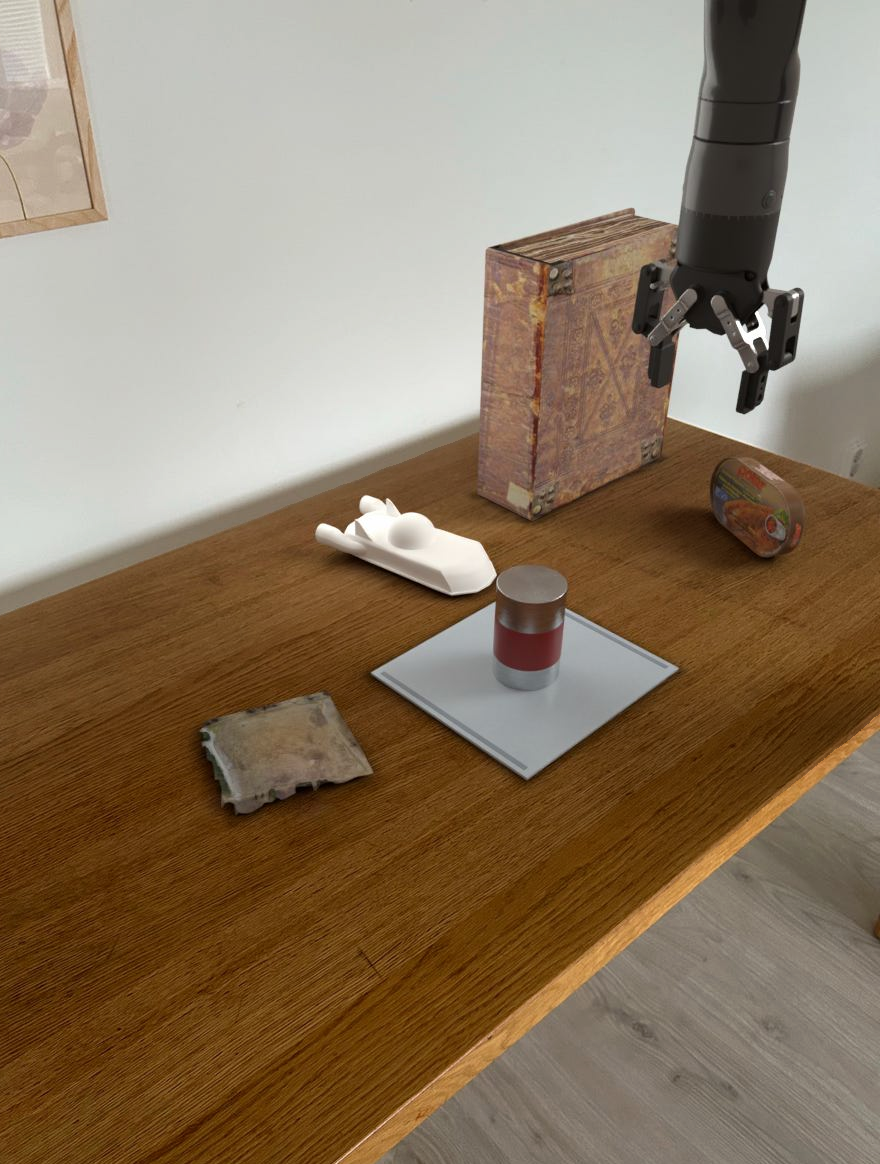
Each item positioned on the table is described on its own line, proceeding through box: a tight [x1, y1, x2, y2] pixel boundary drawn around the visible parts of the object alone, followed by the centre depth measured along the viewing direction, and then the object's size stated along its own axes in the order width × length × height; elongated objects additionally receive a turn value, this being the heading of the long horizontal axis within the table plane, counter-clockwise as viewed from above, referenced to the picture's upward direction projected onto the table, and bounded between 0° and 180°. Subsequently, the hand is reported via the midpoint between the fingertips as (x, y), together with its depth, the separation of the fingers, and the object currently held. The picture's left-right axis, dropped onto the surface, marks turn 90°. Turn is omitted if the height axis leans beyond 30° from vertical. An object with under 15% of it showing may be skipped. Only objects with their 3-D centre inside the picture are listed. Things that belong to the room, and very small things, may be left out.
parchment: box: [198, 690, 374, 816], centre depth 89 cm, size 12×13×1 cm
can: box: [492, 564, 569, 691], centre depth 95 cm, size 6×6×10 cm
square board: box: [370, 601, 680, 781], centre depth 98 cm, size 20×22×1 cm
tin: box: [709, 456, 807, 558], centre depth 115 cm, size 15×3×8 cm, turn 17°
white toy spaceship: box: [314, 494, 497, 597], centre depth 112 cm, size 10×20×6 cm, turn 54°
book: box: [476, 207, 681, 522], centre depth 122 cm, size 25×9×30 cm, turn 131°
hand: (701, 397), depth 88 cm, fingers open, 8 cm apart
